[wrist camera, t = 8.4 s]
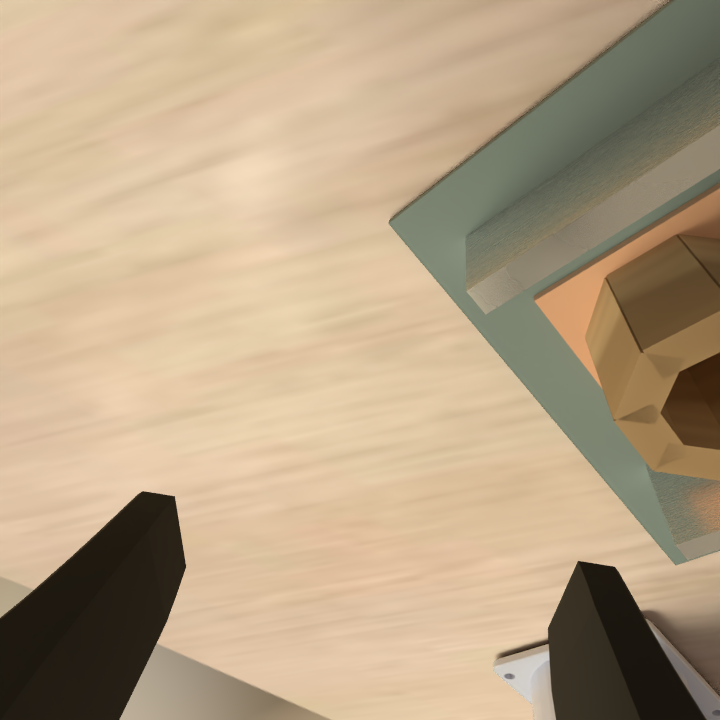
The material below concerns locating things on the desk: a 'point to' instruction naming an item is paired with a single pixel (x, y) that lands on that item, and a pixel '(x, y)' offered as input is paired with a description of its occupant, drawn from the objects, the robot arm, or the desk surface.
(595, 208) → the metal walled tray
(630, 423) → the oak ring
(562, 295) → the pad
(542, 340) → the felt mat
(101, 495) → the desk surface
